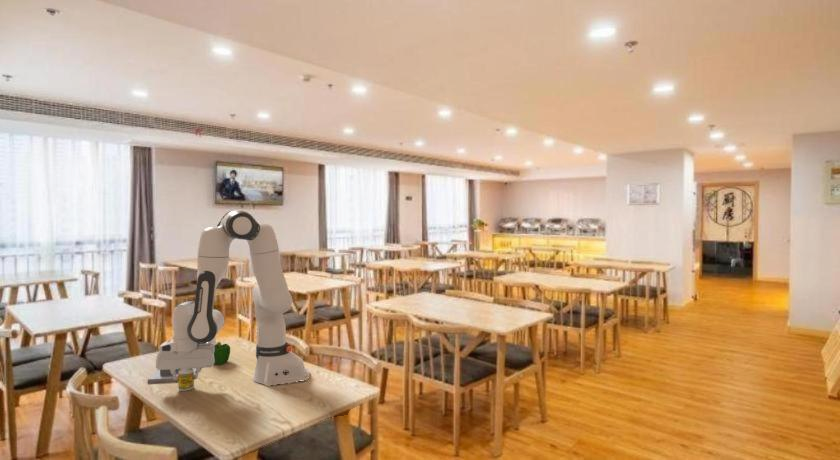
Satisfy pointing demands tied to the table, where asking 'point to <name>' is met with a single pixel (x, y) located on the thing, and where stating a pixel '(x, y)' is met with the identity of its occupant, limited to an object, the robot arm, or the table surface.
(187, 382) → the supplement bottle
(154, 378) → the bottle stand
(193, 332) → the robot arm
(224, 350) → the bell pepper
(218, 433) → the table surface
